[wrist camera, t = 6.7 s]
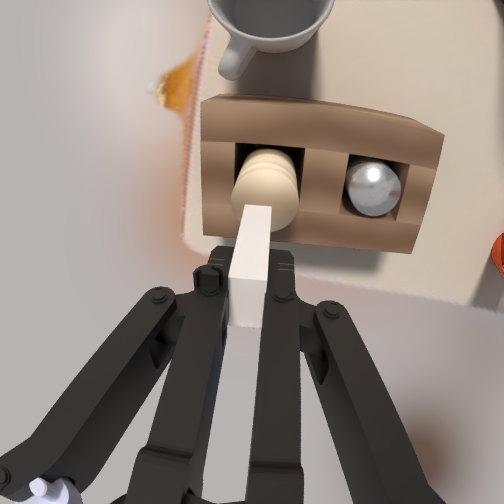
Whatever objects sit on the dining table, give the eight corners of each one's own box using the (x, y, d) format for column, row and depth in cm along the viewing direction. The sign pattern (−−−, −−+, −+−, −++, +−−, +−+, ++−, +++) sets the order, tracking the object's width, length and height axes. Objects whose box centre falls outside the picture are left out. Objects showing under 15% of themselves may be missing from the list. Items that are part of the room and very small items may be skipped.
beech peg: (245, 140, 25) (231, 168, 19) (296, 144, 25) (302, 174, 19) (243, 187, 28) (230, 229, 21) (292, 191, 28) (294, 235, 21)
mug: (255, -32, 19) (241, -76, 10) (333, 4, 21) (358, -27, 12) (200, 61, 26) (159, 59, 17) (275, 96, 27) (272, 108, 18)
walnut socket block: (220, 94, 28) (200, 102, 21) (410, 117, 27) (444, 134, 20) (219, 199, 34) (203, 235, 28) (388, 216, 33) (411, 254, 27)
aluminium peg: (338, 139, 29) (355, 162, 22) (379, 146, 28) (406, 170, 22) (332, 179, 31) (345, 212, 25) (371, 184, 31) (393, 218, 24)
